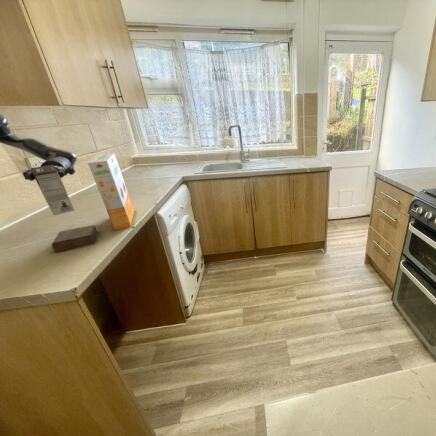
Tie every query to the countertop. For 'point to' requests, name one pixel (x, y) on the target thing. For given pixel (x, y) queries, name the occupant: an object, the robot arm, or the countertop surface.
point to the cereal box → (112, 189)
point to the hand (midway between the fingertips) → (45, 176)
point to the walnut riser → (75, 238)
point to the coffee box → (52, 189)
